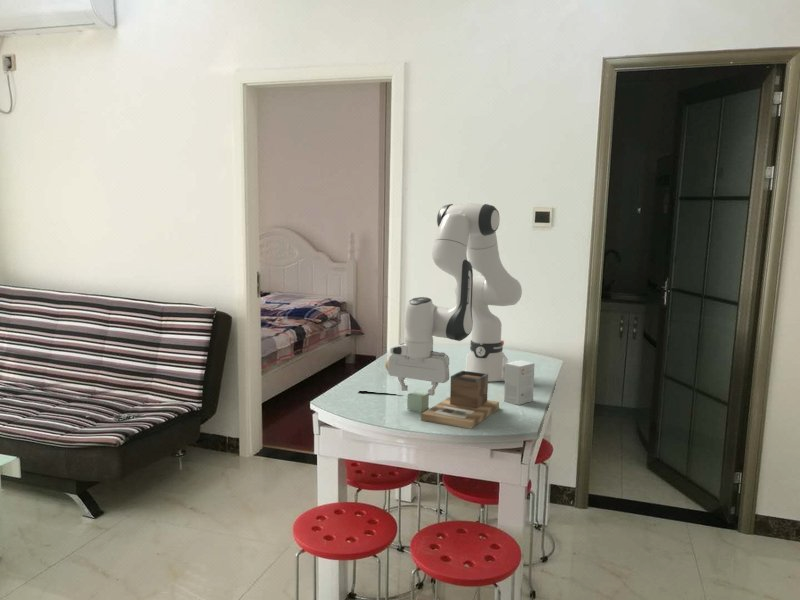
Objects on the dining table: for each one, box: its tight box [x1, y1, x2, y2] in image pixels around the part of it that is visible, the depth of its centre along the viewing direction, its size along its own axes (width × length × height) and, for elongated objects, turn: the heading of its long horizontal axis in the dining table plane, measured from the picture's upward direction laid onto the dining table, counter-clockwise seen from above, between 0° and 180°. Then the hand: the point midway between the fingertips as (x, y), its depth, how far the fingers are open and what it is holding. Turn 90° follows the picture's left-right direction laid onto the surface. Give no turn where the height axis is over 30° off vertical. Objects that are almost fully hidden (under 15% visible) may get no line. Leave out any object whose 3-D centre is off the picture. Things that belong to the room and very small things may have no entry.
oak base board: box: [420, 370, 500, 430], centre depth 197 cm, size 24×16×11 cm, turn 152°
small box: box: [503, 359, 535, 406], centre depth 212 cm, size 8×6×13 cm
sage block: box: [406, 390, 430, 413], centre depth 202 cm, size 5×5×5 cm
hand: (417, 393), depth 201 cm, fingers open, 8 cm apart
